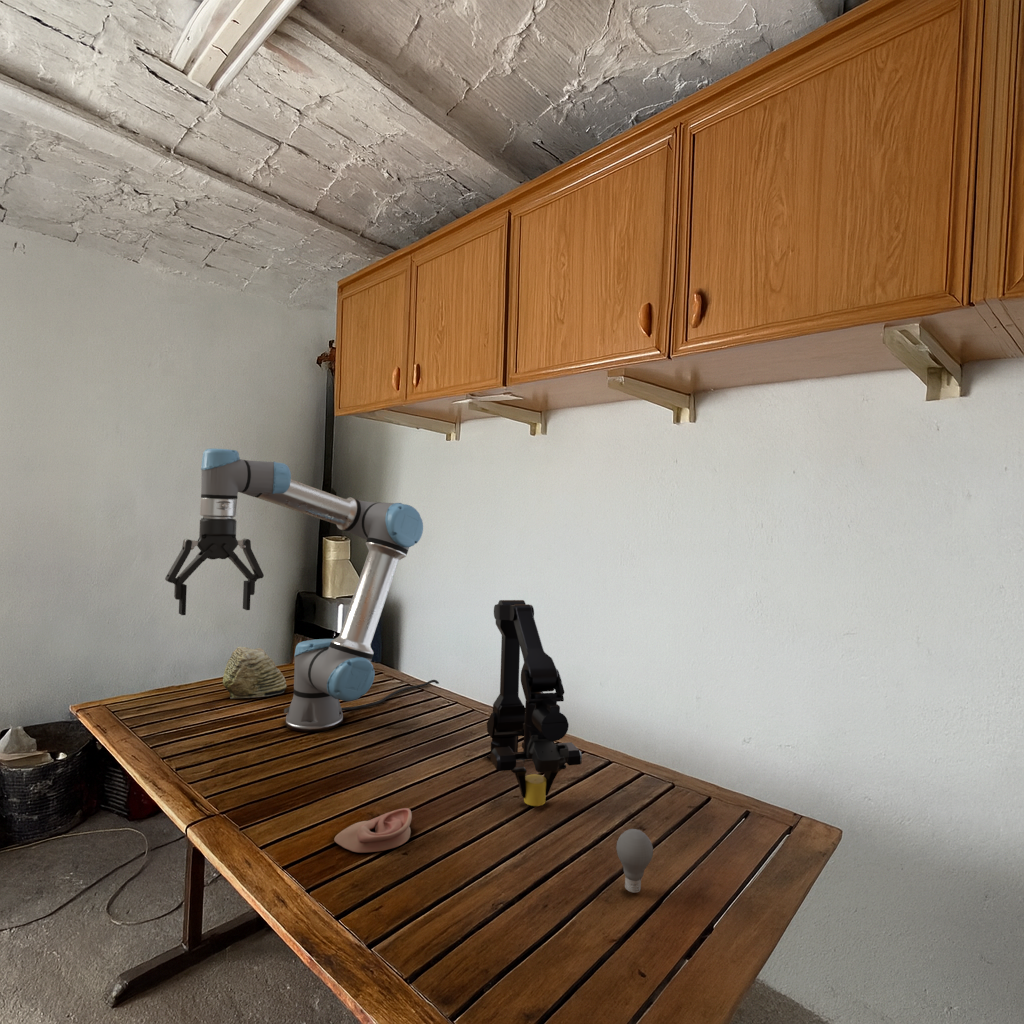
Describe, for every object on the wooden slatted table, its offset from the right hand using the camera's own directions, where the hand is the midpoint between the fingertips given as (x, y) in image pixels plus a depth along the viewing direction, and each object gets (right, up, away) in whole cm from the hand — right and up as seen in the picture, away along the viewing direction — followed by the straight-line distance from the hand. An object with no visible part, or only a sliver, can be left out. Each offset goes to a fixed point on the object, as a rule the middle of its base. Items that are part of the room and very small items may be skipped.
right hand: (534, 795), depth 135 cm
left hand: (-72, +38, +8) cm, 82 cm away
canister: (0, -1, 0) cm, 1 cm away
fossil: (-85, +3, +63) cm, 106 cm away
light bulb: (+15, -3, -29) cm, 33 cm away
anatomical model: (-31, -1, -16) cm, 35 cm away
